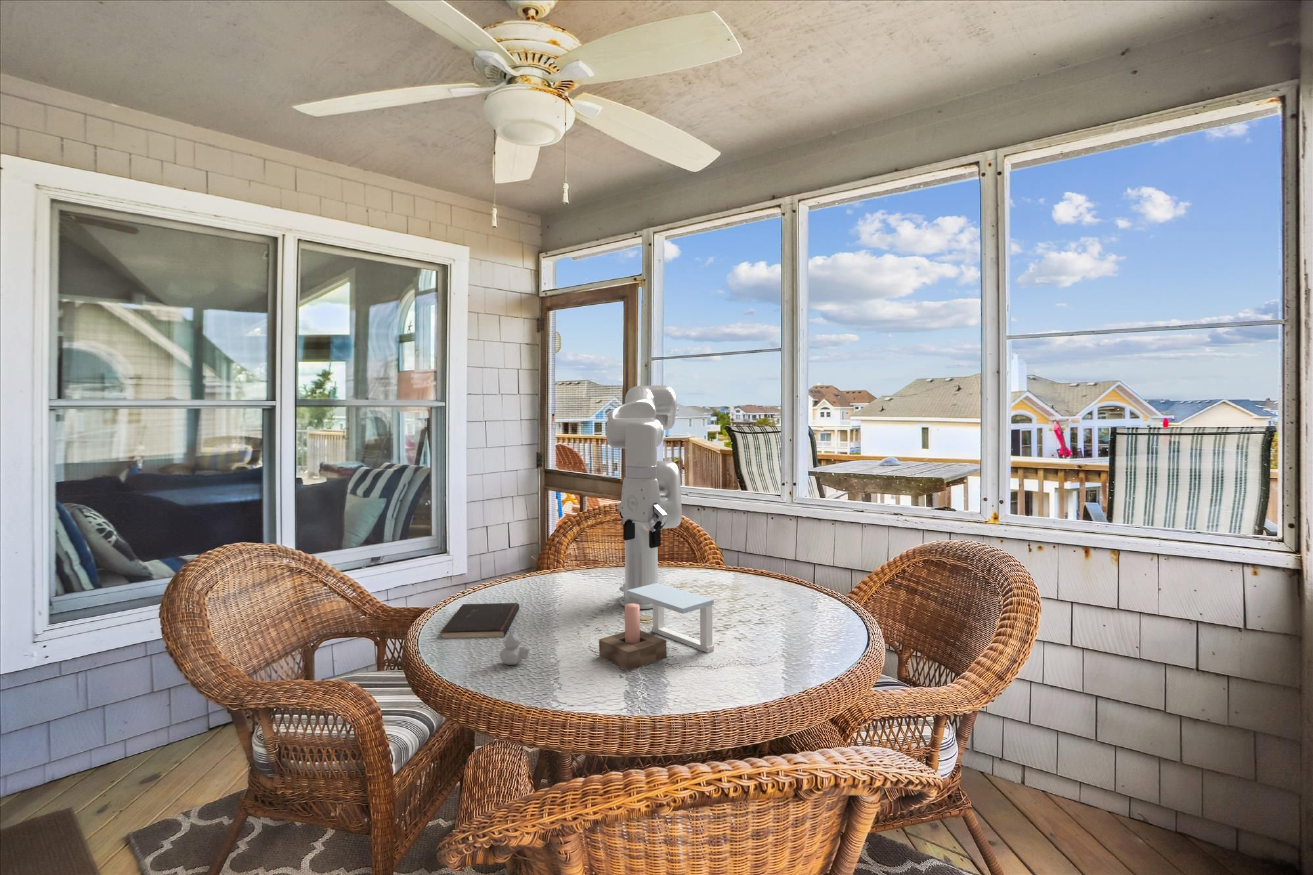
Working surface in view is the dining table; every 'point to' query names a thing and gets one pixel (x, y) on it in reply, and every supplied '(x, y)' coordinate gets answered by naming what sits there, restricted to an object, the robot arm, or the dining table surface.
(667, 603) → the small white step stool
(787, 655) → the dining table surface
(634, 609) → the peg
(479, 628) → the hardcover book
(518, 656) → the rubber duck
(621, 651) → the socket block
